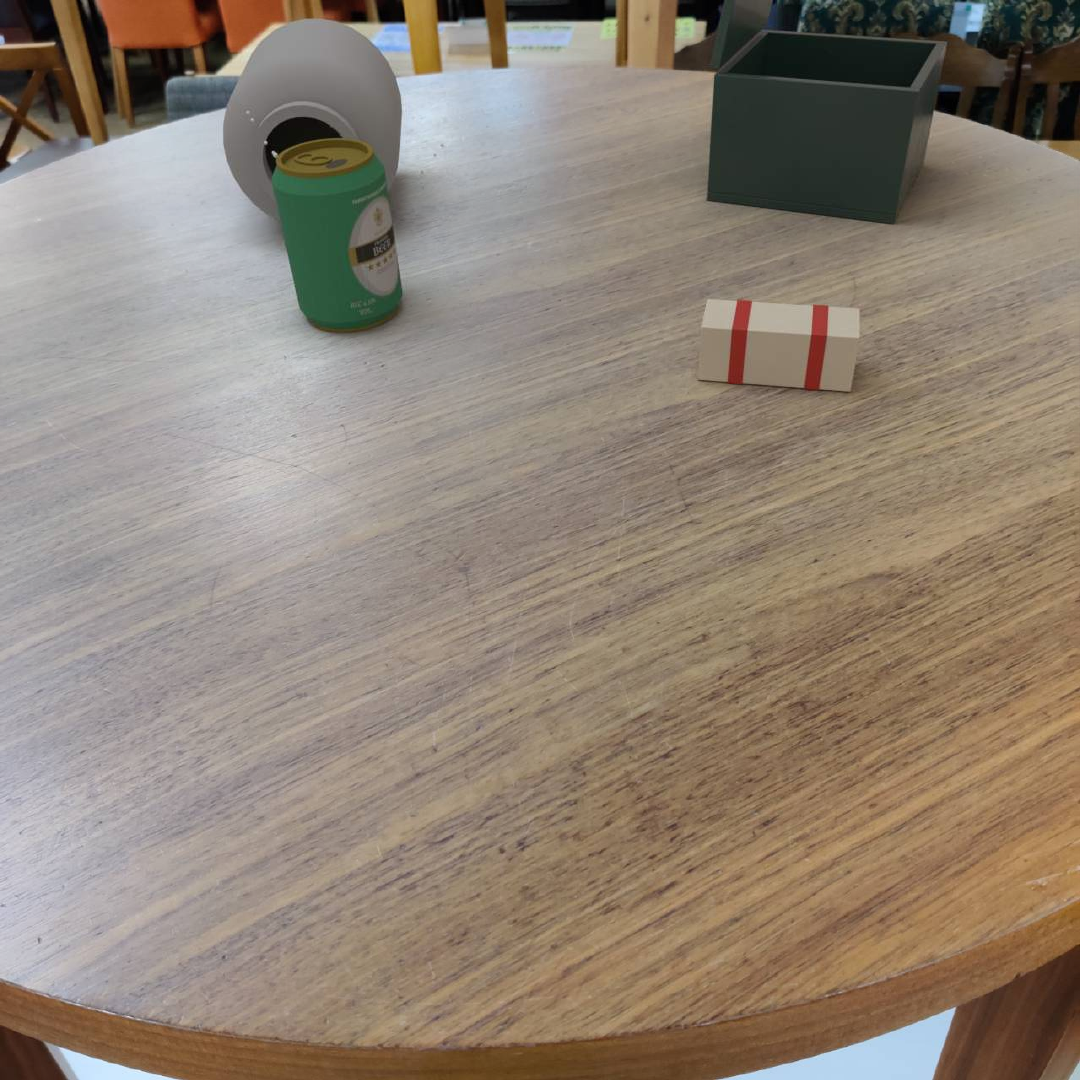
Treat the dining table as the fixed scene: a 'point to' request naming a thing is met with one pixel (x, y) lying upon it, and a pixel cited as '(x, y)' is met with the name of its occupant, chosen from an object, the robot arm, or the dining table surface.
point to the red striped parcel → (779, 344)
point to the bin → (823, 123)
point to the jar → (309, 102)
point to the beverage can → (338, 233)
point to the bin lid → (738, 27)
